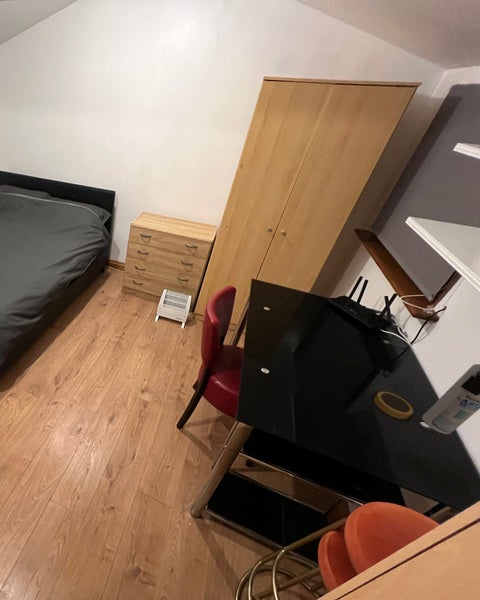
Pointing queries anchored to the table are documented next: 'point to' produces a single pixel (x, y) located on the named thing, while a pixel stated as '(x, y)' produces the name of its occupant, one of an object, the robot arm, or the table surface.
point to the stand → (393, 405)
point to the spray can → (453, 406)
